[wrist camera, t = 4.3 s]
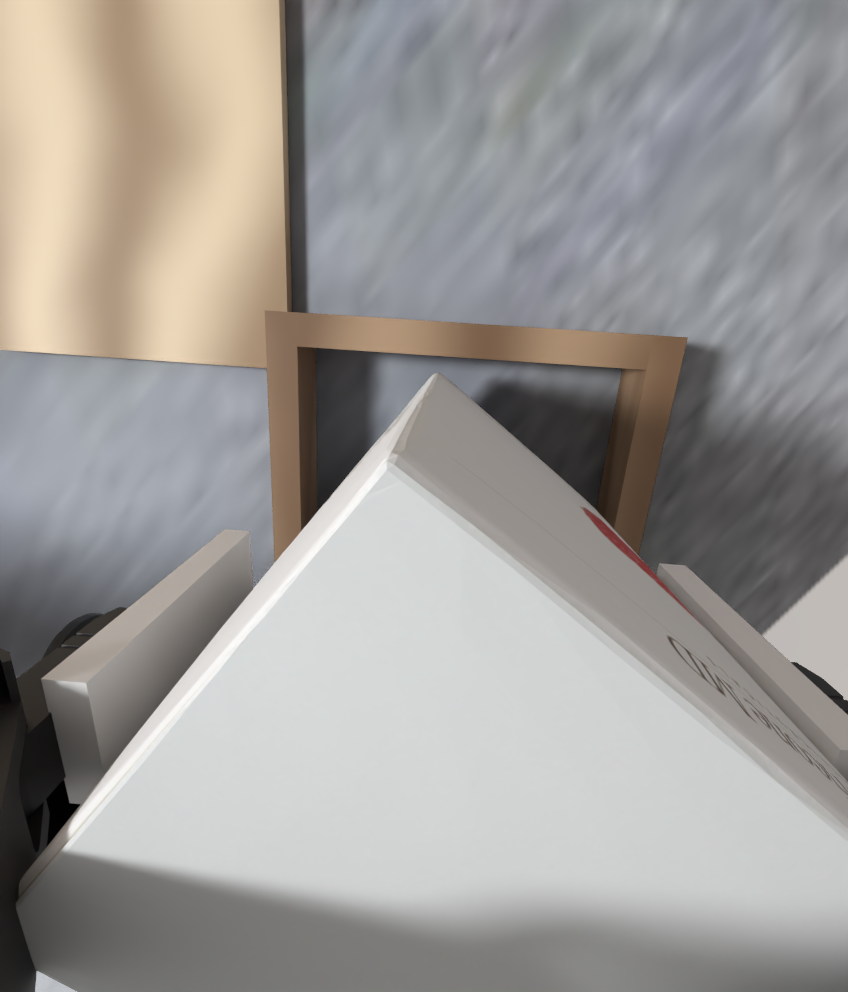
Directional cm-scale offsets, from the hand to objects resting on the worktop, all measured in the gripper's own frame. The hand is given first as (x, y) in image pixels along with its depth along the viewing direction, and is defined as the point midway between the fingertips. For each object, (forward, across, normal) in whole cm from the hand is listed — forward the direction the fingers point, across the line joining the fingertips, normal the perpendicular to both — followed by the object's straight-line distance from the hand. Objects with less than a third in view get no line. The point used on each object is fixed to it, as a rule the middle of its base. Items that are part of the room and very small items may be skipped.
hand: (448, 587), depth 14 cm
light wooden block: (+8, -14, +12) cm, 20 cm away
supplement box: (+6, 0, 0) cm, 6 cm away
